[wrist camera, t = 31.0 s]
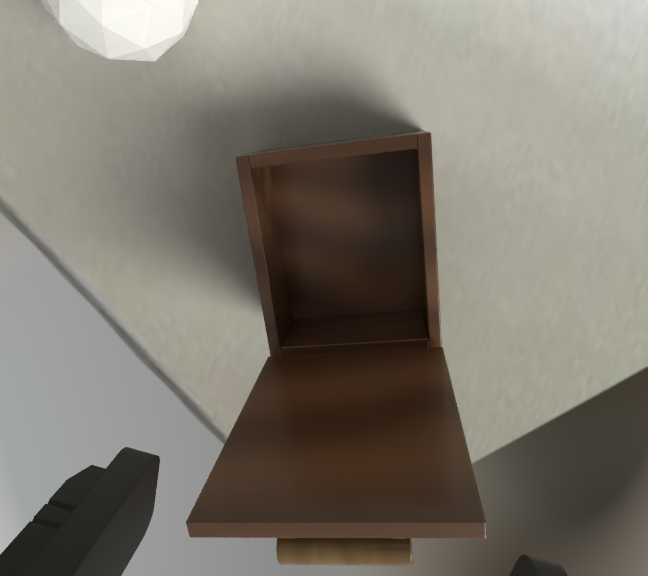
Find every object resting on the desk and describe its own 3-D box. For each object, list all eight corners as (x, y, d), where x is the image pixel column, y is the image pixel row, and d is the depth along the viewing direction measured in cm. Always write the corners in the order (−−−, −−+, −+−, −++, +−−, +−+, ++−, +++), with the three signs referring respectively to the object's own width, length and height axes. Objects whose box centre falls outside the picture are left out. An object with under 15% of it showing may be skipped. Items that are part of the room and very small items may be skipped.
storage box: (259, 150, 34) (235, 156, 29) (423, 130, 33) (431, 132, 27) (287, 324, 39) (270, 358, 33) (433, 315, 37) (442, 348, 31)
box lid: (185, 522, 19) (208, 606, 21) (486, 522, 17) (488, 614, 19) (268, 356, 33) (278, 414, 34) (442, 346, 31) (445, 408, 32)
